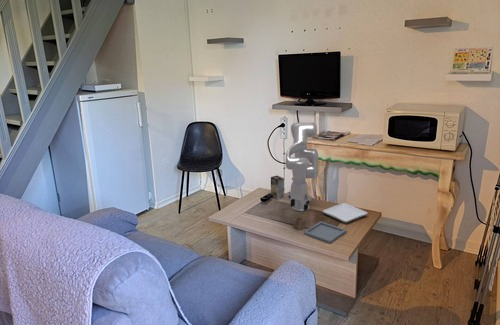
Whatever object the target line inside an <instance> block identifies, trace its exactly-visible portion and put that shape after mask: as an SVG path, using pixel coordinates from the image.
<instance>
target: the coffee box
mask: <svg viewBox="0 0 500 325" xmlns="http://www.w3.org/2000/svg"><path fill="white" fill-rule="evenodd" d="M271 194H272V195H273V197H274V198H273V197H272V198H273V199H275V200H277V201H279V199H280V200H283V199H285V178H284V177H282V176H279V175H274V176H270V195H271ZM282 198H283V199H282Z"/></svg>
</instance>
